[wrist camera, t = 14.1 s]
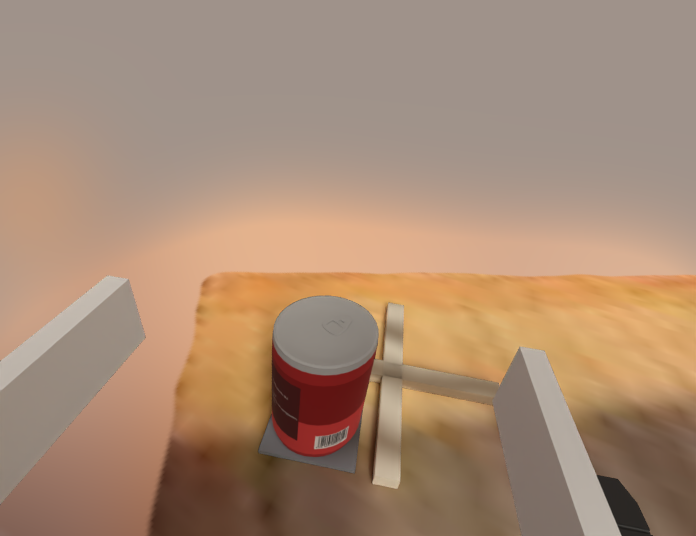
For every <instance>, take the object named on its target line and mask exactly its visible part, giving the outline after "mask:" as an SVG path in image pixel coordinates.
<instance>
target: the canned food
mask: <svg viewBox="0 0 696 536" xmlns="http://www.w3.org/2000/svg"><path fill="white" fill-rule="evenodd" d="M377 345H378V327H377V323H376V321H375V320H374V318H373V316H372V315H371V314H370V313H369V312H368V311H367V310H366V309H365V308H363V307H362V306H361V305H359V304H357V303H355V302H353V301H350V300H348V299H345V298H341V297H335V296H314V297H308V298H304V299H301V300H299V301H296V302H294V303H292V304H291V305H289V306H288V307H286V308H285V309H284V310H283V311H282V312H281V313H280V314H279V316H278V317H277V319H276V321H275V324H274V330H273V338H272V422H273V427H274V429H275V432H276V434H277V436H278V437H279V439H280V440H281V442H282V443H283V444H284V445H285V446H286V447H287V448H288V449H289V450H291V451H293V452H295V453H297V454H299V455H303V456H307V457H321V456H326V455H329V454H332V453H334V452H336V451H338V450H339V449H341V448H342V447H343V446H344V445H346V444H347V442H348V441H349V440H350V439H351V438H352V437H353V435H354V434H355V432H356V430H357V428H358V426H359V422H360V418H361V414H362V410H363V405H364V401H365V397H366V393H367V388H368V384H369V380H370V376H371V372H372V367H373V363H374V359H375V355H376V349H377Z"/></svg>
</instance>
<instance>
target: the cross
mask: <svg viewBox="0 0 696 536" xmlns="http://www.w3.org/2000/svg"><path fill="white" fill-rule="evenodd" d="M403 325H404V305H398V304H393V303H388V307H387V313H386V325H385V337H384V349H383V360H378V359H374V363H373V367H372V372H371V376H370V380H369V381H371V382H377V383H381V385H380V397H379V409H378V421H377V433H376V445H375V456H374V468H373V480H372V484H377V485H381V486H386V487H391V488H395V489H397V488H398V485H399V483H400V466H401V419H402V388H407V389H412V390H417V391H422V392H427V393H432V394H438V395H443V396H448V397H453V398H458V399H463V400H468V401H473V402H478V403H483V404H488V405H493V402H492V400H493V398H494V397H495V395H496V393H497V391H498V389H499V383H497V382H492V381H486V380H481V379H476V378H471V377H466V376H460V375H455V374H450V373H445V372H440V371H435V370H429V369H424V368H419V367H414V366H409V365H404V364H403ZM362 412H363V410H362ZM361 420H362V414H361V418H360V422H359V426H358V428H357V430H356V432H355V434H354V435H353V437H352V438H351V439H350V440H349V441H348V442H347V444H346V445H344V446H343V447H342V448H341V449H339V450H338V451H336V452H334V453H332V454H329V455H326V456H321V457H307V456H303V455H299V454H297V453H295V452H293V451H291V450H289V449H288V448H287V447H286V446H285V445H284V444H283V443H282V442H281V440H280V439H279V437H278V436H277V434H276V432H275V429H274V427H273V422H272V414H271V417H270V420H269V423H268V425H267V428H266V431H265V433H264V436H263V439H262V442H261V444H260V447H259V450H258V453H260V454H265V455H270V456H275V457H279V458H284V459H289V460H294V461H298V462H303V463H308V464H313V465H317V466H322V467H327V468H332V469H336V470H341V471H346V472H350V473H355V467H356V459H357V451H358V444H359V436H360V428H361Z"/></svg>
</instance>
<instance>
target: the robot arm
mask: <svg viewBox="0 0 696 536" xmlns="http://www.w3.org/2000/svg"><path fill="white" fill-rule="evenodd" d="M145 338H146V337H145V333H144V330H143V326H142V323H141V319H140V316H139V313H138V309H137V306H136V302H135V299H134V296H133V293H132V289H131V286H130V282H129V279H124V278H119V277H113V276H107V277H105V278H104V279H103V280H101V281H100V282H99V283H98V284H96V285H95V286H94V287H93V288H91V289H90V290H89V291H88V292H86V293H85V294H84V295H83V296H81V297H80V298H79V299H78V300H76V301H75V302H74V303H73V304H71V305H70V306H69V307H68V308H66V309H65V310H64V311H63V312H61V313H60V314H59V315H58V316H57V317H56V318H54V319H53V320H51V321H50V322H49V323H48V324H47V325H45V326H44V327H43V328H42V329H40V330H39V331H38V332H36V333H35V334H34V335H33V336H31V337H30V338H29V339H28V340H26V341H25V342H24V343H23V344H21V345H20V346H19V347H18V348H16V349H15V350H14V351H13V352H12V353H10V354H9V355H8V356H6V357H5V358H4V359H3V360H1V361H0V504H1V503H2V502H3V501H4V500H5V499H6V497H7V496H8V495H9V494H10V493H11V492H12V490H13V489H14V488H15V487H16V486H17V485H18V484H19V482H20V481H21V480H22V479H23V478H24V477H25V476H26V474H27V473H28V472H29V471H30V470H31V469H32V467H33V466H34V465H35V464H36V463H37V462H38V461H39V459H40V458H41V457H42V456H43V455H44V454H45V453H46V451H47V450H48V449H49V448H50V447H51V446H52V445H53V443H54V442H55V441H56V440H57V439H58V437H60V435H61V434H62V433H63V432H64V431H65V430H66V428H67V427H68V426H69V425H70V424H71V422H72V421H73V420H74V419H75V418H76V417H77V416H78V415H79V414H80V412H81V411H82V410H83V409H84V408H85V406H87V404H88V403H89V402H90V401H91V399H92V398H93V397H94V396H95V395H96V394H97V393H98V392H99V391H100V389H101V388H102V387H103V386H104V385H105V384H106V383H107V381H108V380H109V379H110V378H111V377H112V376H113V375H114V373H115V372H116V371H117V370H118V369H119V368H120V366H121V365H122V364H123V363H124V362H125V361H126V360H127V358H128V357H129V356H130V355H131V354H132V353H133V352H134V350H135V349H136V348H137V347H138V346H139V344H140V343H141V342H142V341H143V340H144V339H145ZM492 402H493V407H494V411H495V416H496V420H497V425H498V429H499V434H500V439H501V443H502V448H503V452H504V457H505V462H506V466H507V471H508V475H509V480H510V485H511V489H512V494H513V498H514V503H515V507H516V512H517V517H518V521H519V526H520V530H521V535H522V536H653V535H651V534H650V532H649V531H650V529H649V527H648V525H647V523H646V521H645V519H644V516H643V514H642V512H641V510H640V508H639V506H638V504H637V502H636V501H635V500H634V499H633V497H632V496H631V495H630V494H629V492H628V491H627V490H626V489H625V487H624V486H623V485H622V484H621V482H620V481H619V480H618V479H615V478H610V477H604V476H599V475H596V473H595V471H594V468H593V466H592V464H591V461H590V459H589V456H588V454H587V452H586V449H585V447H584V444H583V442H582V440H581V437H580V435H579V432H578V430H577V428H576V425H575V423H574V420H573V418H572V416H571V413H570V411H569V408H568V406H567V404H566V401H565V399H564V396H563V394H562V392H561V389H560V387H559V384H558V382H557V380H556V377H555V375H554V372H553V370H552V368H551V365H550V363H549V360H548V358H547V356H546V353H545V351H543V350H537V349H531V348H525V347H519V349H518V351H517V353H516V355H515V357H514V359H513V361H512V363H511V365H510V367H509V369H508V371H507V373H506V375H505V377H504V379H503V381H502V383H501V385H500V387H499V389H498V391H497V393H496V395H495V397H494V398H493V400H492Z"/></svg>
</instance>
